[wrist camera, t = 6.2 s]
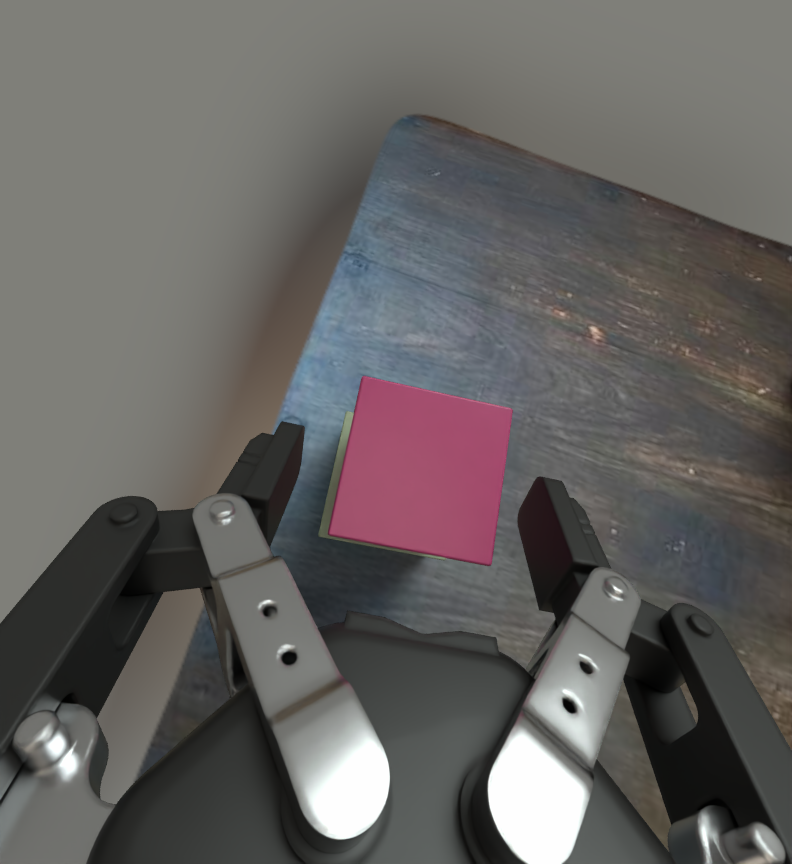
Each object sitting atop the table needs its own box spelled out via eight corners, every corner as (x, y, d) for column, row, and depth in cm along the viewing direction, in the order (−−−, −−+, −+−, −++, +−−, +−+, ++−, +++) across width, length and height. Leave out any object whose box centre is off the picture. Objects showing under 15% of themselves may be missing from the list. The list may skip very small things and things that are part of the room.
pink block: (336, 523, 19) (326, 535, 11) (357, 427, 20) (362, 374, 12) (433, 542, 19) (492, 567, 11) (449, 447, 20) (513, 408, 12)
